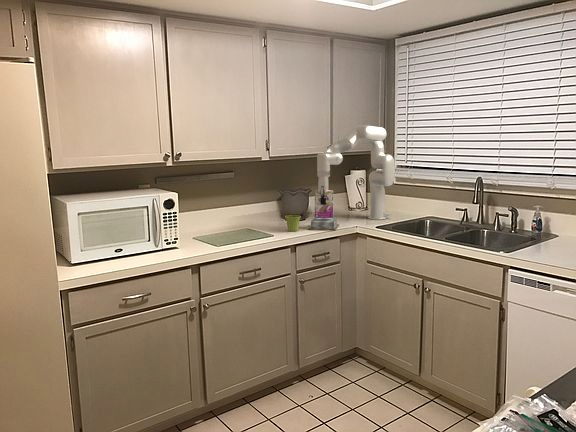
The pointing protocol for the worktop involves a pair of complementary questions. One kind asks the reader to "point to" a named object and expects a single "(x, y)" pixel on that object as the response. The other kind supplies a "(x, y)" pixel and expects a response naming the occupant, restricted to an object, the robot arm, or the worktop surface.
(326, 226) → the blueprint base
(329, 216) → the candy bar box
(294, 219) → the plant pot
